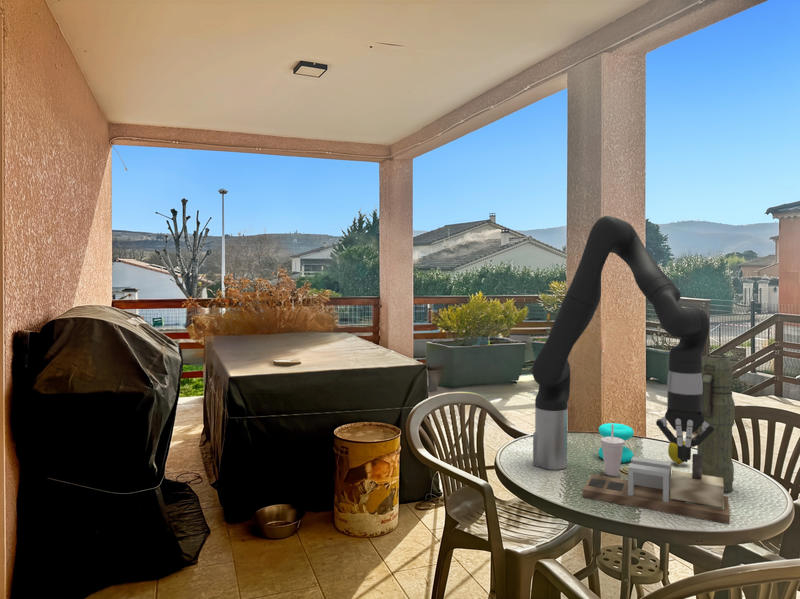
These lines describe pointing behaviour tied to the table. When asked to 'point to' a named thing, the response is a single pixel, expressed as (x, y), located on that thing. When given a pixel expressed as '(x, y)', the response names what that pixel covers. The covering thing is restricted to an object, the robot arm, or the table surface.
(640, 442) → the table surface
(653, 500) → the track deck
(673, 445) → the lemon
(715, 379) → the green stone statue
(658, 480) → the tunnel
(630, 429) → the donuts
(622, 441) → the smoothie
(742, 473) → the table surface
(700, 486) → the block
